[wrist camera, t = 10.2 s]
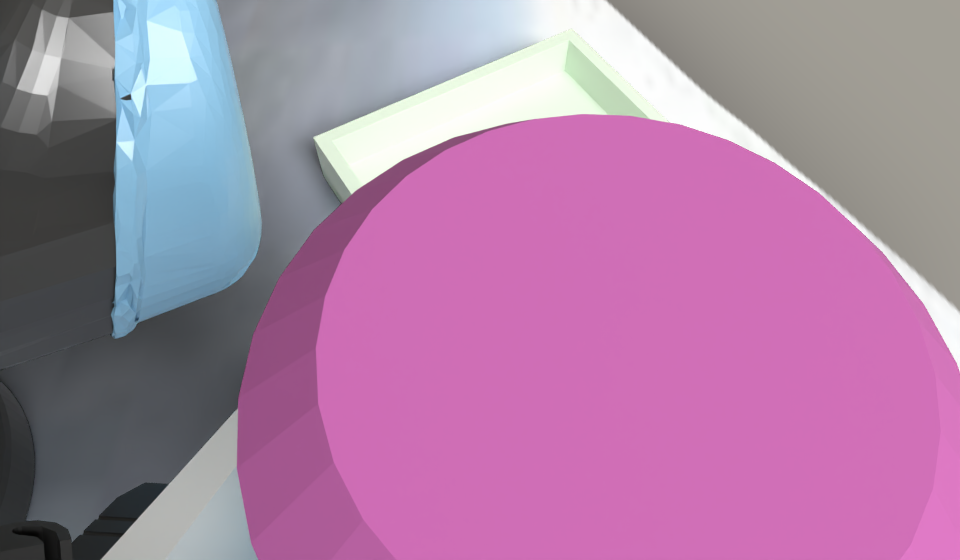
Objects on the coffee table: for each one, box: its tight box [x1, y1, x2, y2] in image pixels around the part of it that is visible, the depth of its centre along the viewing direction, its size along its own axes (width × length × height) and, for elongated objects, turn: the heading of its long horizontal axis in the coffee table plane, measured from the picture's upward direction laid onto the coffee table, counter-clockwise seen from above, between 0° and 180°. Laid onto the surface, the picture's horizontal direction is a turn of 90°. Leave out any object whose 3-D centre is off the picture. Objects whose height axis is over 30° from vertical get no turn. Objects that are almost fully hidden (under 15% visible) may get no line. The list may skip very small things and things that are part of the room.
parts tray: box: [313, 29, 669, 204], centre depth 36 cm, size 21×16×3 cm
